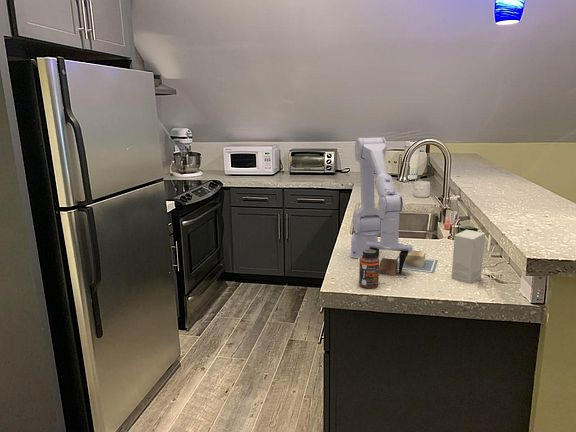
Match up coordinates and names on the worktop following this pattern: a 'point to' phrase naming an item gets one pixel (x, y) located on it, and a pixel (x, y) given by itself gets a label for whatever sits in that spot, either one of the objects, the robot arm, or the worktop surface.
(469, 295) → the worktop surface
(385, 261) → the walnut cube
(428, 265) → the board
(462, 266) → the skincare box
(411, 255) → the maple base block
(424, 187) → the mug
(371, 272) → the supplement bottle
